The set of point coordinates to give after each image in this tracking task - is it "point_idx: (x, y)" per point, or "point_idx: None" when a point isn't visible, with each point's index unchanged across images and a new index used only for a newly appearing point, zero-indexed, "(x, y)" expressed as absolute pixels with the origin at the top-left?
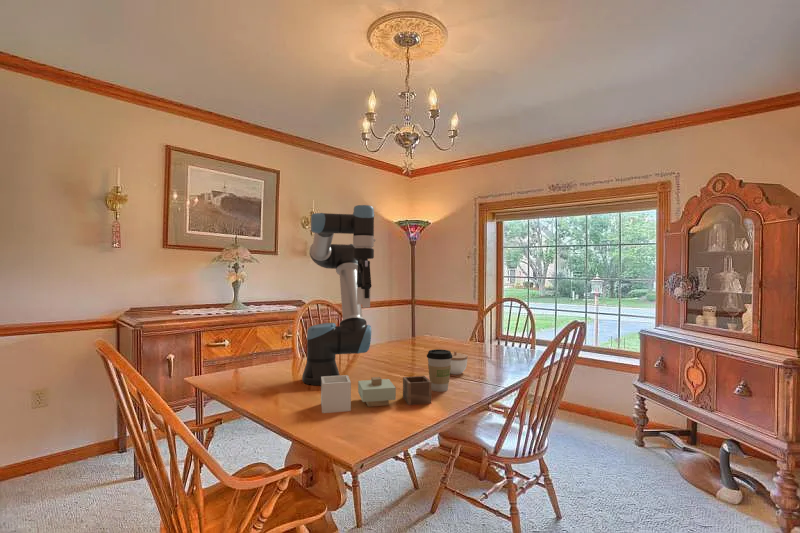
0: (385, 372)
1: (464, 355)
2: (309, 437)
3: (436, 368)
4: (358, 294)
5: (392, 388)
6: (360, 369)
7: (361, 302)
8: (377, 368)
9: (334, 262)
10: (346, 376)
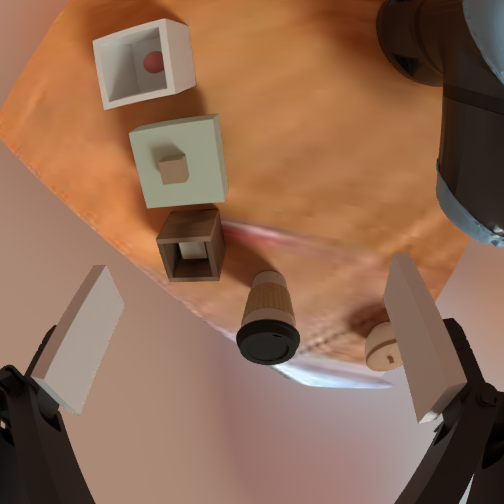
0: None
1: (379, 368)
2: (41, 51)
3: (245, 313)
4: (419, 327)
5: (145, 200)
6: None
7: (391, 292)
8: None
9: None
10: (160, 91)
